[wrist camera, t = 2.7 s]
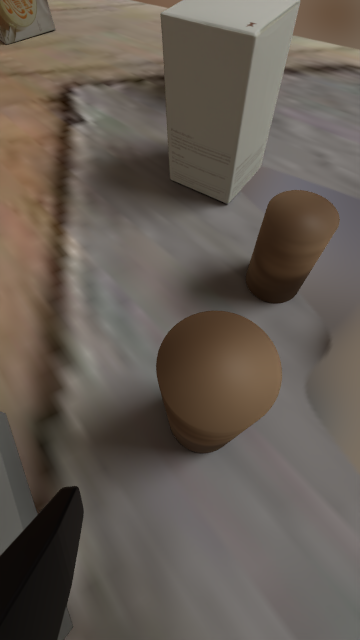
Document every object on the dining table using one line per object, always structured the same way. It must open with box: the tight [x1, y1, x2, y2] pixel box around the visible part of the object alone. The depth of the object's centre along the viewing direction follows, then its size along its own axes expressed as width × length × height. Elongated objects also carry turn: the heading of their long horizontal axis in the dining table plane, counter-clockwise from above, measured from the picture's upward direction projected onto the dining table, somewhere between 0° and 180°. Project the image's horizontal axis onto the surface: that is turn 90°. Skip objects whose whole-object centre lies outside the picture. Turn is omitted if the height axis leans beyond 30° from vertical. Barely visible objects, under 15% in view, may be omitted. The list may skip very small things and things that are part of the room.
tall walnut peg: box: [156, 311, 282, 453], centre depth 15 cm, size 4×4×10 cm
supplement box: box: [161, 0, 300, 204], centre depth 25 cm, size 7×7×13 cm
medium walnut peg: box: [246, 190, 340, 303], centre depth 21 cm, size 4×4×7 cm
